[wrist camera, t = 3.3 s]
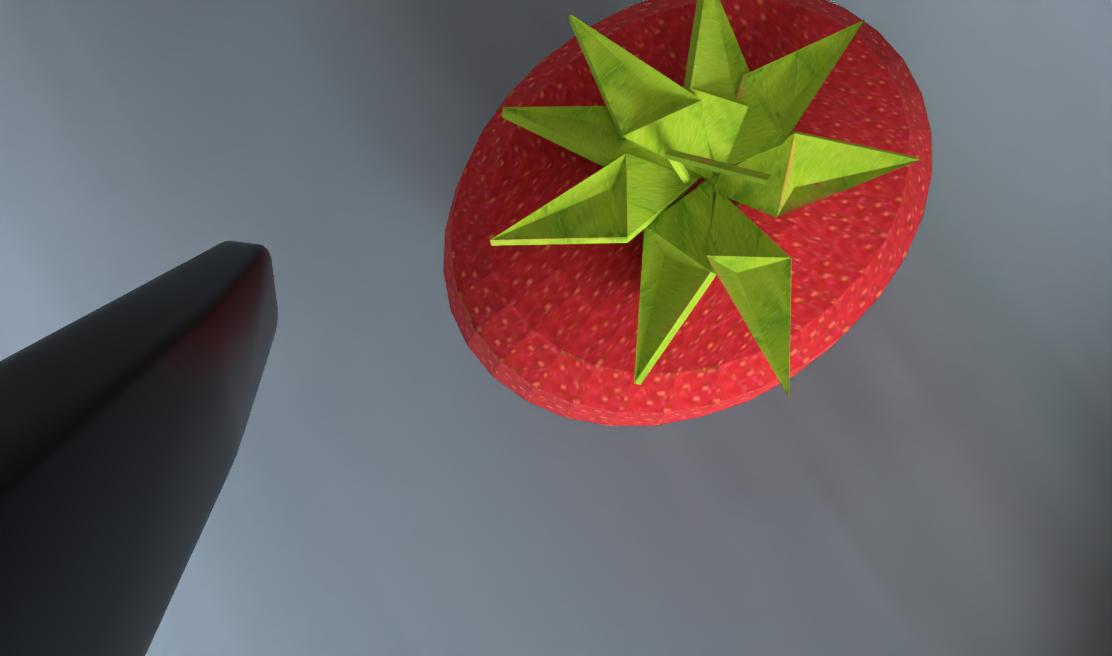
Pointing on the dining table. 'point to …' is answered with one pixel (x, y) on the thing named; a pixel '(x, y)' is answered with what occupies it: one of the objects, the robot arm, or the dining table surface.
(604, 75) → the strawberry
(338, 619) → the dining table surface
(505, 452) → the dining table surface
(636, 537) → the dining table surface
